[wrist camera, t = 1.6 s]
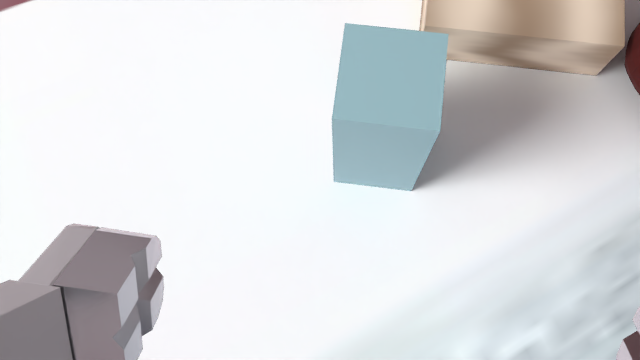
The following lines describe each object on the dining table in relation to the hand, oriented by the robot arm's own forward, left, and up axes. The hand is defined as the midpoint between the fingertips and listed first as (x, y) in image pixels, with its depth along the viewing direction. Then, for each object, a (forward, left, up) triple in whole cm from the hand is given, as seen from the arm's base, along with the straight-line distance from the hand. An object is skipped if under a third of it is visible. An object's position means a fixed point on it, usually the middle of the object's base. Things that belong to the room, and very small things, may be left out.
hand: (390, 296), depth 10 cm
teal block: (0, -11, -26) cm, 28 cm away
